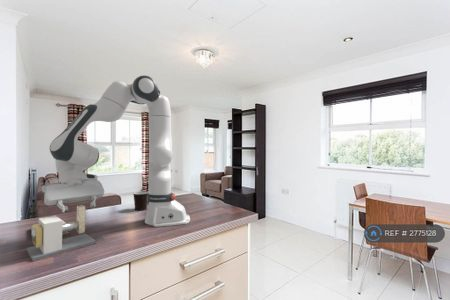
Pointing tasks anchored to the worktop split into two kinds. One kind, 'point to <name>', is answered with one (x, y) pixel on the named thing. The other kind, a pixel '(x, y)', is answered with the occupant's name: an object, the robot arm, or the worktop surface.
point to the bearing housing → (56, 240)
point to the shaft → (73, 225)
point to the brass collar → (37, 235)
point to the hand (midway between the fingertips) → (80, 209)
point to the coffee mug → (140, 200)
